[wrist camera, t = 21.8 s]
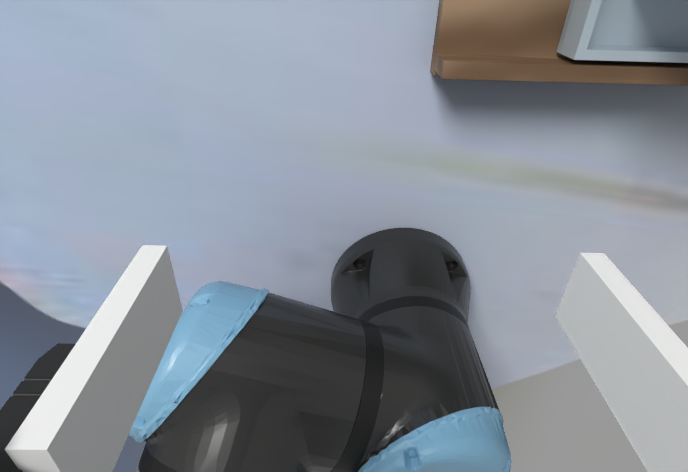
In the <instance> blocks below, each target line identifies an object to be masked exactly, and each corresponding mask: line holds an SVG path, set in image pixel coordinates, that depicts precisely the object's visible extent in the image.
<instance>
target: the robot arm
mask: <svg viewBox="0 0 688 472" xmlns="http://www.w3.org/2000/svg"><path fill="white" fill-rule="evenodd" d="M469 299H470V280H469V276H468V273H467V270H466V268H465V265H464V263H463V260H462V258H461V256H460V254H459V253H458V251H457V250H456V249H455V248H454V247H453V246H452V245H451V244H450V243H449V242H447V241H446V240H445V239H443V238H441V237H440V236H438V235H436V234H433V233H431V232H428V231H424V230H420V229H413V228H394V229H387V230H383V231H379V232H376V233H373V234H371V235H368V236H366V237H364V238H362V239H361V240H359V241H357V242H356V243H354V244H353V245H352V246H351V247H349V248H348V249H347V250H346V251H345V252H344V254H343V255H342V256H341V257H340V259H339V260H338V262H337V264H336V266H335V268H334V271H333V274H332V280H331V301H332V306H333V309H334V312H333V311H329V310H326V309H322V308H319V307H316V306H312V305H309V304H305V303H302V302H299V301H295V300H292V299H288V298H285V297H282V296H278V295H275V294H272V293H269V290H267V289H261V290H257V289H253V288H249V287H245V286H241V285H237V284H232V283H228V282H222V281H217V282H212V283H209V284H207V285H205V286H204V287H202V288H201V289H200V290H198V292H197V293H196V294H195V295H194V296H193V298H192V299H191V300H190V302H189V303H188V305H187V307H186V308H185V310H184V312H183V313H182V311H183V310H182V306H181V302H180V297H179V293H178V289H177V285H176V281H175V277H174V272H173V268H172V264H171V260H170V256H169V252H168V247H167V246H150V245H142V247H141V248H140V250H139V251H138V253H137V254H136V256H135V257H134V259H133V260H132V262H131V263H130V264H129V266H128V267H127V269H126V270H125V272H124V273H123V275H122V276H121V278H120V279H119V281H118V282H117V284H116V285H115V287H114V288H113V290H112V291H111V293H110V294H109V296H108V297H107V299H106V300H105V302H104V303H103V304H102V306H101V307H100V309H99V310H98V312H97V313H96V315H95V316H94V318H93V319H92V321H91V322H90V324H89V325H88V327H87V328H86V330H85V331H84V333H83V334H82V336H81V337H80V339H79V340H78V342H77V343H76V344H57V345H56V346H54V347H53V348H52V349H51V350H49V351H48V352H47V353H45V354H44V355H43V356H42V357H40V358H39V359H38V360H37V362H36V363H35V364H34V366H33V367H32V368H31V370H30V371H29V372H28V374H27V375H26V376H25V380H24V381H22V382H21V383H20V384H19V386H18V387H17V389H16V390H15V391H14V393H13V396H12V397H10V398H9V399H8V401H7V402H6V403H5V405H4V406H3V407H2V409H1V410H0V472H112V471H113V469H114V467H115V464H116V462H117V460H118V458H119V455H120V453H121V451H122V448H123V446H124V444H125V441H126V439H127V437H128V435H129V436H131V437H133V438H134V439H135V441H136V442H141V443H143V442H144V441H146V445H145V447H144V450H143V453H142V456H141V459H140V462H139V465H138V468H137V472H510V467H511V455H510V451H509V447H508V443H507V439H506V436H505V432H504V428H503V419H502V415H501V413H500V411H499V409H498V406H497V403H496V401H495V398H494V395H493V393H492V390H491V387H490V384H489V382H488V379H487V376H486V374H485V371H484V368H483V366H482V363H481V360H480V357H479V355H478V352H477V349H476V347H475V344H474V341H473V339H472V336H471V333H470V330H469V327H468V325H467V320H468V310H469ZM181 314H182V315H181ZM180 316H181V317H180ZM555 317H556V319H557V320H558V322H559V324H560V325H561V327H562V329H563V330H564V332H565V334H566V336H567V337H568V339H569V341H570V342H571V344H572V346H573V347H574V349H575V351H576V352H577V354H578V356H579V357H580V359H581V361H582V362H583V364H584V366H585V367H586V369H587V371H588V372H589V374H590V376H591V377H592V379H593V381H594V383H595V384H596V386H597V388H598V389H599V391H600V393H601V394H602V396H603V398H604V399H605V401H606V403H607V404H608V406H609V408H610V409H611V411H612V413H613V414H614V416H615V418H616V420H617V421H618V423H619V424H620V426H621V428H622V430H623V431H624V433H625V434H626V436H627V438H628V440H629V441H630V443H631V445H632V446H633V448H634V450H635V451H636V453H637V455H638V456H639V458H640V460H641V462H642V463H643V465H644V466H645V468H646V470H647V472H688V348H687V347H686V346H685V344H684V343H683V342H682V341H681V340H680V339H679V338H678V337H677V335H676V334H675V333H674V332H673V331H672V330H671V329H670V327H669V326H668V325H667V324H666V323H665V322H664V321H663V320H662V318H661V317H660V316H659V315H658V314H657V313H656V312H655V310H654V309H653V308H652V307H651V306H650V305H649V304H648V303H647V301H646V300H645V299H644V298H643V297H642V296H641V295H640V294H639V292H638V291H637V290H636V289H635V288H634V287H633V286H632V284H631V283H630V282H629V281H628V280H627V279H626V278H625V277H624V275H623V274H622V273H621V272H620V271H619V270H618V269H617V267H616V266H615V265H614V264H613V263H612V262H611V261H610V260H609V258H608V257H607V256H606V255H605V254H604V253H580V255H579V257H578V260H577V262H576V265H575V267H574V270H573V272H572V275H571V277H570V280H569V282H568V285H567V287H566V290H565V292H564V295H563V297H562V300H561V302H560V305H559V307H558V309H557V312H556V314H555Z"/></svg>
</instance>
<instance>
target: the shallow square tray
mask: <svg viewBox="0 0 688 472" xmlns="http://www.w3.org/2000/svg"><path fill="white" fill-rule="evenodd" d="M557 52H558V53H560V54H562V55H564V56H567V57H569V58H571V59H573V60H600V61H637V62H673V63H688V0H571V2H570V6H569V9H568V13H567V16H566V20H565V24H564V27H563V31H562V34H561V38H560V42H559V45H558V49H557Z"/></svg>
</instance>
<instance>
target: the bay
mask: <svg viewBox="0 0 688 472" xmlns="http://www.w3.org/2000/svg"><path fill="white" fill-rule="evenodd" d="M570 2H571V0H440V1H439V8H438V16H437V24H436V31H435V39H434V46H433V54H432V62H431V69H430V71H431V72H432V74H433V75H439V76H440V77H441V79H466V80H504V81H542V82H581V83H619V84H658V85H688V63H673V62H637V61H600V60H573V59H571V58H569V57H567V56H564V55H562V54H560V53H558V52H557V49H558V45H559V42H560V38H561V34H562V31H563V27H564V24H565V20H566V16H567V13H568V9H569V6H570Z"/></svg>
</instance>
